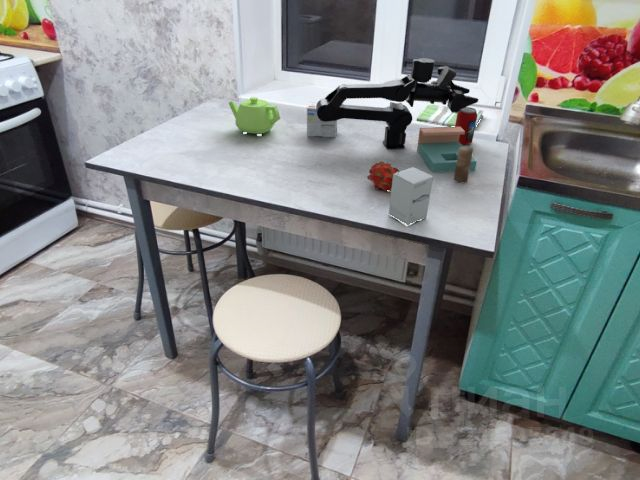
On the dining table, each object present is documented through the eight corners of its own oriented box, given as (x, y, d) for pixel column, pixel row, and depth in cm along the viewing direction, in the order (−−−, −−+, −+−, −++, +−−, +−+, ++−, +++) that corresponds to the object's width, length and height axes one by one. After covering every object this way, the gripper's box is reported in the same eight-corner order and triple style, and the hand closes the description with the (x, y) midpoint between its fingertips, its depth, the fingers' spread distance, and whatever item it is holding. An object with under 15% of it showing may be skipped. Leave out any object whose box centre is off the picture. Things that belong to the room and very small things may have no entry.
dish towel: (474, 132, 179) (476, 123, 177) (415, 122, 187) (416, 113, 185) (483, 118, 192) (485, 109, 190) (427, 109, 200) (428, 101, 198)
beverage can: (472, 147, 166) (479, 113, 159) (452, 145, 167) (458, 112, 160) (471, 139, 171) (477, 107, 165) (452, 138, 172) (457, 105, 166)
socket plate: (432, 171, 149) (435, 148, 145) (416, 150, 163) (419, 127, 159) (474, 170, 151) (479, 146, 146) (456, 148, 165) (460, 126, 160)
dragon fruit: (367, 185, 145) (400, 202, 140) (357, 179, 138) (391, 197, 132) (380, 160, 144) (414, 176, 139) (371, 152, 136) (406, 169, 131)
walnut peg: (456, 182, 143) (462, 152, 138) (451, 177, 147) (457, 146, 141) (469, 182, 144) (475, 151, 138) (464, 176, 147) (470, 146, 141)
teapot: (223, 134, 175) (219, 100, 168) (240, 122, 185) (237, 89, 178) (272, 141, 169) (270, 107, 162) (287, 129, 179) (286, 95, 172)
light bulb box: (337, 131, 178) (338, 102, 171) (335, 138, 172) (336, 109, 166) (309, 129, 179) (308, 101, 172) (306, 136, 173) (306, 107, 167)
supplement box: (407, 228, 122) (413, 184, 115) (387, 215, 127) (392, 173, 120) (427, 219, 126) (434, 176, 119) (407, 207, 131) (412, 165, 124)
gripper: (441, 76, 145) (490, 80, 146) (426, 59, 160) (471, 63, 161) (432, 111, 151) (480, 114, 153) (419, 92, 166) (462, 95, 168)
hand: (473, 95), depth 158 cm, fingers open, 9 cm apart
